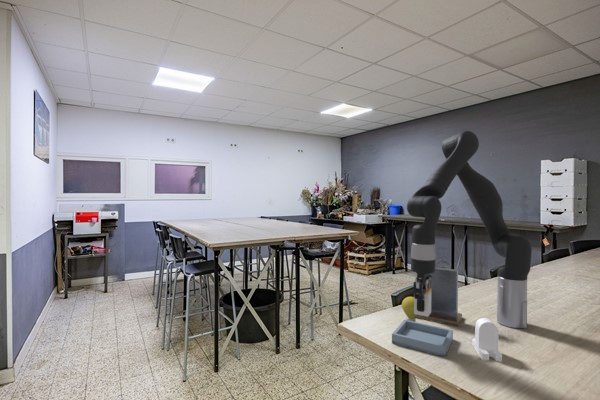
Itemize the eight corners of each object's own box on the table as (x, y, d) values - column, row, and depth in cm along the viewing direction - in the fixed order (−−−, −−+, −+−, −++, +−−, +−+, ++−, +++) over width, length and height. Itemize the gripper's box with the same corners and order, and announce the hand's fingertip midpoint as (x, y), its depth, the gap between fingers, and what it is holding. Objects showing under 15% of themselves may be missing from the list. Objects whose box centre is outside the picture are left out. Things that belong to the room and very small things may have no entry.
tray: (452, 339, 107) (452, 330, 107) (445, 357, 96) (445, 347, 96) (404, 327, 116) (404, 319, 116) (391, 343, 105) (391, 333, 105)
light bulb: (398, 320, 123) (398, 294, 123) (415, 319, 123) (415, 294, 123) (405, 327, 116) (406, 300, 116) (423, 327, 117) (424, 299, 116)
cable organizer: (489, 345, 103) (490, 314, 102) (502, 361, 93) (503, 327, 93) (471, 344, 104) (472, 313, 104) (482, 360, 94) (483, 326, 94)
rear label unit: (462, 317, 125) (462, 267, 125) (458, 326, 117) (458, 273, 117) (419, 309, 134) (420, 262, 134) (413, 317, 126) (413, 267, 126)
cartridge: (431, 312, 106) (431, 288, 106) (428, 316, 103) (428, 291, 103) (417, 309, 109) (417, 286, 109) (413, 313, 105) (414, 289, 105)
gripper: (430, 262, 97) (429, 318, 98) (439, 254, 109) (439, 304, 110) (405, 259, 102) (404, 313, 102) (417, 252, 113) (416, 300, 114)
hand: (422, 308), depth 106 cm, fingers closed on cartridge, 4 cm apart
